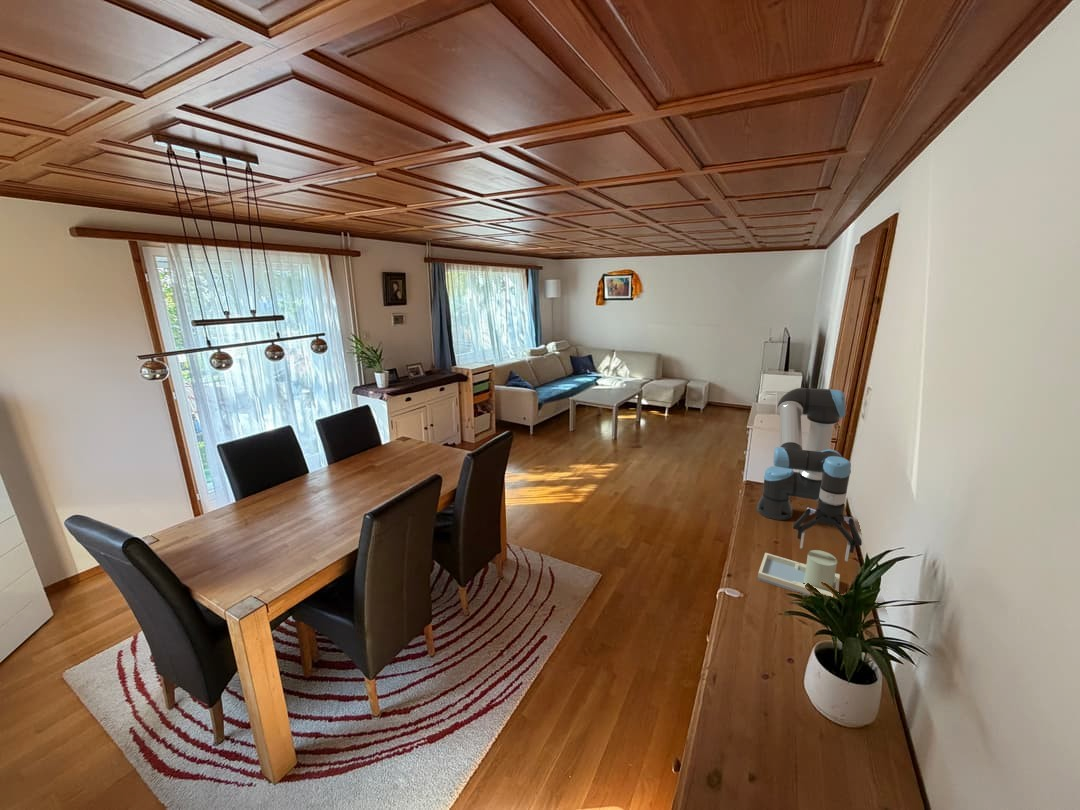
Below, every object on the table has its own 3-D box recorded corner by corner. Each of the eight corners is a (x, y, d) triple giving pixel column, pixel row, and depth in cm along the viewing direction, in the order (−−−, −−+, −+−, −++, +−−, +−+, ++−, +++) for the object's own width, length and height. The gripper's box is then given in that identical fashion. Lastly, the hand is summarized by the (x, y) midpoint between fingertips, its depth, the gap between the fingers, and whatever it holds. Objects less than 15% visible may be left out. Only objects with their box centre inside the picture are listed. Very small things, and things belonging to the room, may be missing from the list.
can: (837, 594, 150) (842, 565, 146) (809, 591, 152) (813, 563, 148) (826, 577, 158) (830, 549, 155) (799, 575, 160) (803, 547, 157)
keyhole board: (764, 558, 172) (765, 552, 171) (838, 581, 157) (839, 574, 157) (757, 579, 160) (758, 572, 160) (836, 605, 146) (838, 598, 145)
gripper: (788, 496, 150) (782, 546, 156) (877, 515, 135) (866, 570, 142) (791, 487, 156) (785, 536, 162) (876, 505, 141) (866, 558, 147)
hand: (823, 552), depth 152 cm, fingers open, 13 cm apart
